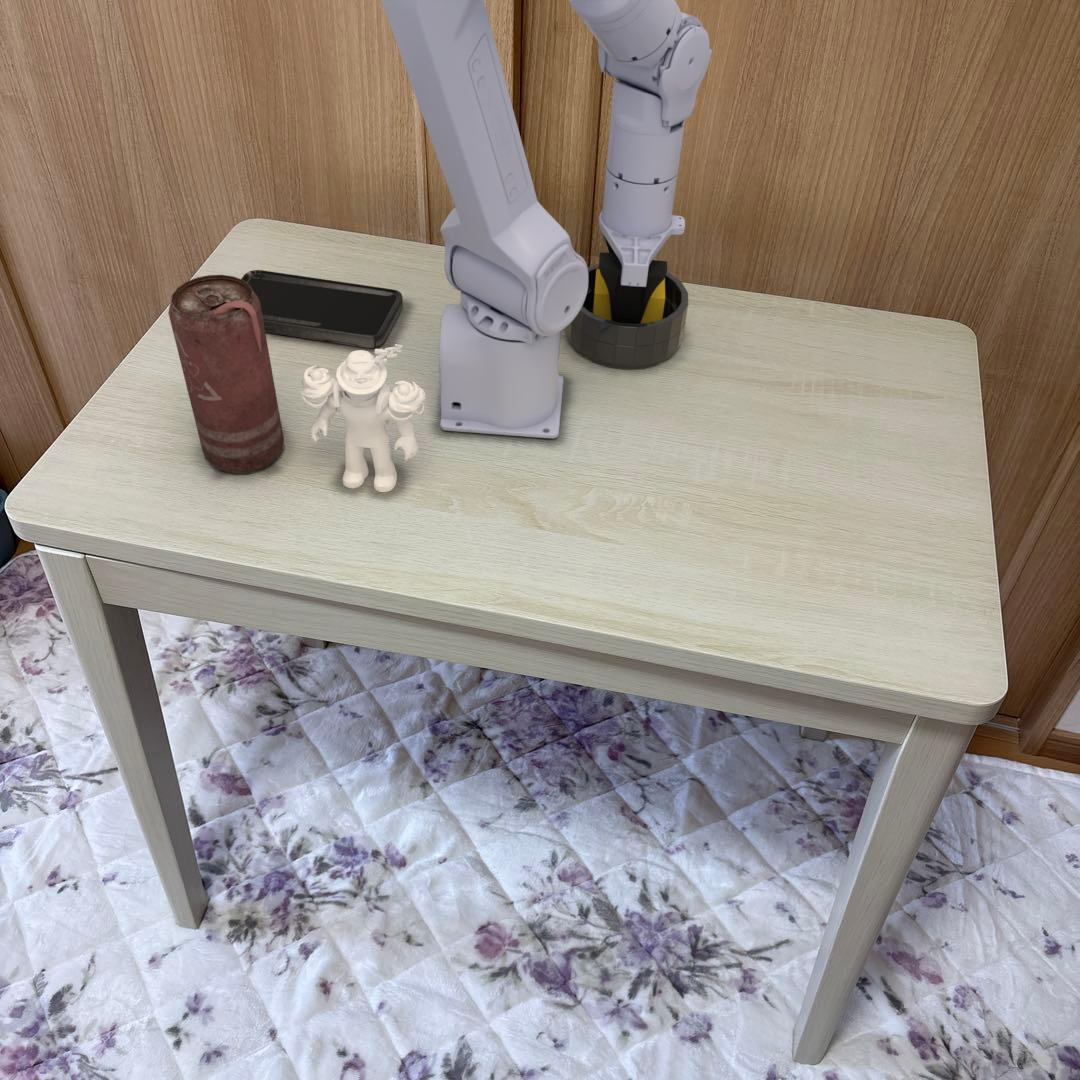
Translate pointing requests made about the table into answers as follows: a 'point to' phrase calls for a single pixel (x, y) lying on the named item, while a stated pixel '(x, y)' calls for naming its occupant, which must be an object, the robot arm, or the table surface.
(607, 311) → the sponge
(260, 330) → the can
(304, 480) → the table surface
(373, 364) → the flower shoulder figurine
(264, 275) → the phone
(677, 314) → the bowl
